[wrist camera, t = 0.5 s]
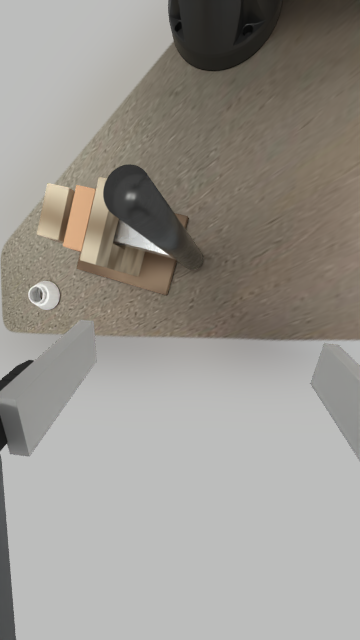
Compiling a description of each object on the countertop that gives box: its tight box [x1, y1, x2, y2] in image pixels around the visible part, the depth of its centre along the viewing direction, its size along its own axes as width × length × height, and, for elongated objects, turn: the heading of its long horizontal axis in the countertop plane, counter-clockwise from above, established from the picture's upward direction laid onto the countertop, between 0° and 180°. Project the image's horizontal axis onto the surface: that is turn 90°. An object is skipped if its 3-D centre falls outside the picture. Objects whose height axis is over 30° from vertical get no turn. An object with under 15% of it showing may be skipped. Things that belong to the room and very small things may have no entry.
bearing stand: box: [37, 177, 189, 295], centre depth 34 cm, size 12×16×13 cm
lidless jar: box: [29, 281, 60, 310], centre depth 43 cm, size 5×3×5 cm
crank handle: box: [103, 165, 203, 270], centre depth 26 cm, size 3×18×21 cm, turn 74°
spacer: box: [63, 185, 96, 252], centre depth 32 cm, size 7×2×7 cm, turn 164°
